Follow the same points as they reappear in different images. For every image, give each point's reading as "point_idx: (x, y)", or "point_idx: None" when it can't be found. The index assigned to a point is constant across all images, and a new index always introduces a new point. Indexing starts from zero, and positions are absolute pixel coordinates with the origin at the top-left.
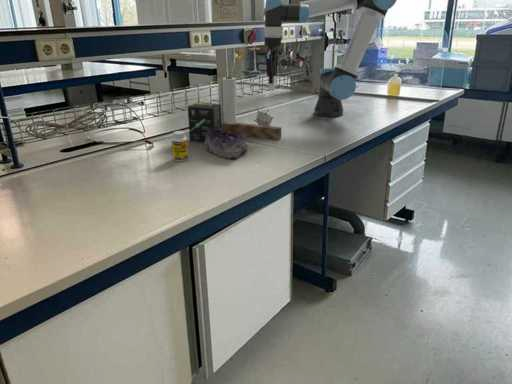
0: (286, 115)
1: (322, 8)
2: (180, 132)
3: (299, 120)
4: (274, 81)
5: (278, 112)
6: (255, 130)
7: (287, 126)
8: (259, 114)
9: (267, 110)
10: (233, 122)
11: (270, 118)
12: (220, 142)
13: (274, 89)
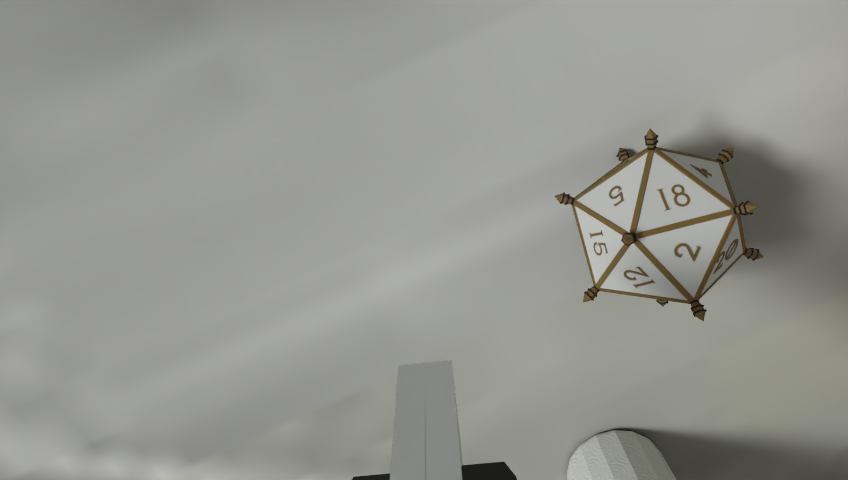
0: (118, 209)
1: None
2: None
3: (222, 7)
4: (430, 469)
5: (63, 318)
6: None
7: (504, 23)
8: (716, 274)
9: (630, 243)
10: (646, 444)
11: (677, 158)
12: None
13: (415, 371)
